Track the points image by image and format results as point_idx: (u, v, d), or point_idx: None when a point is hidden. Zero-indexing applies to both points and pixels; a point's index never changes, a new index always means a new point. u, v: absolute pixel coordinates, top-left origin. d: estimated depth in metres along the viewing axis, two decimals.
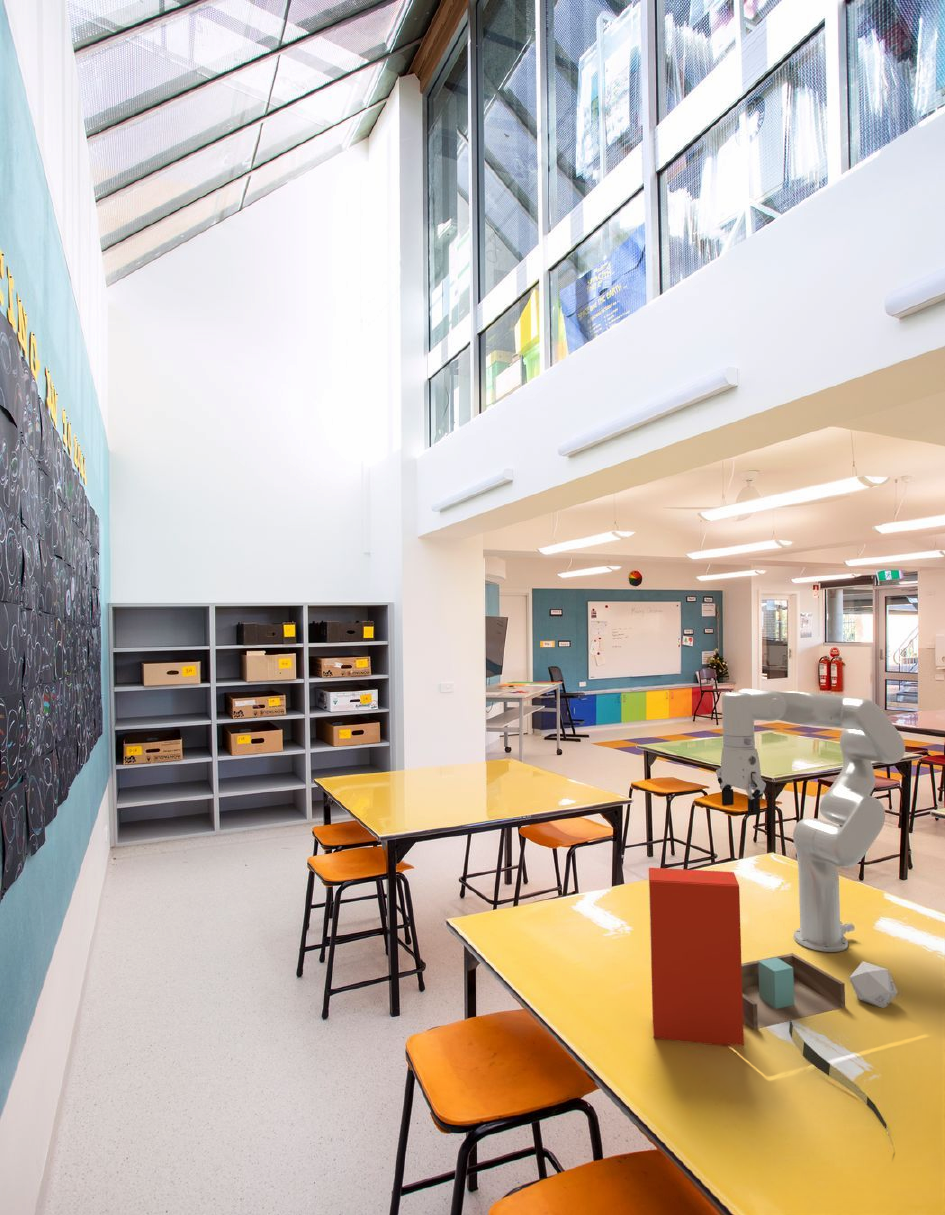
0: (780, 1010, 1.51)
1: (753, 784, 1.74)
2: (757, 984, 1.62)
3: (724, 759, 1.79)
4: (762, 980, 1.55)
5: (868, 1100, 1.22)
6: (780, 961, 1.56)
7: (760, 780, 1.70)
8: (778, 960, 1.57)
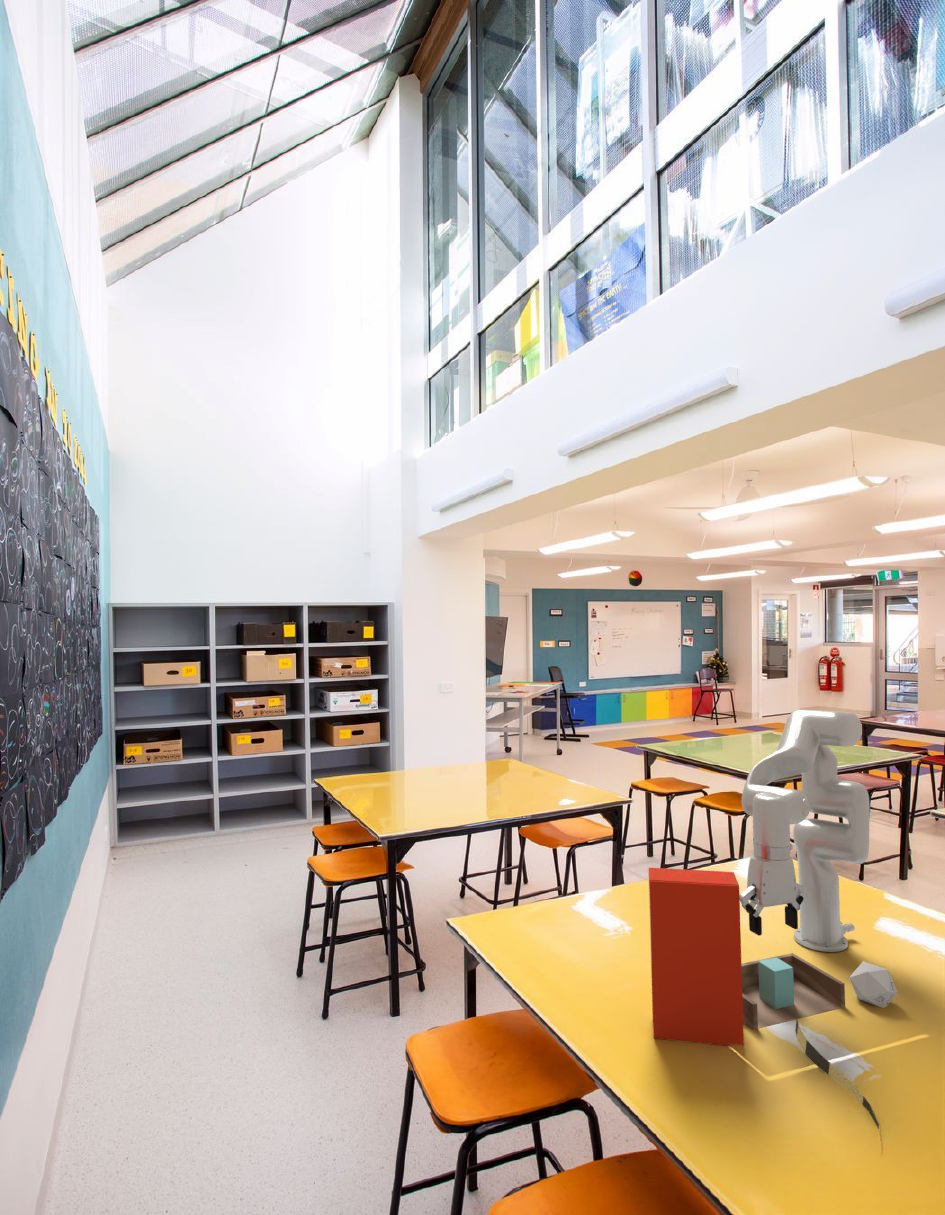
0: (780, 1010, 1.51)
1: None
2: (757, 984, 1.62)
3: (769, 878, 1.52)
4: (762, 980, 1.55)
5: (864, 1100, 1.22)
6: (780, 961, 1.56)
7: (800, 884, 1.57)
8: (778, 960, 1.57)
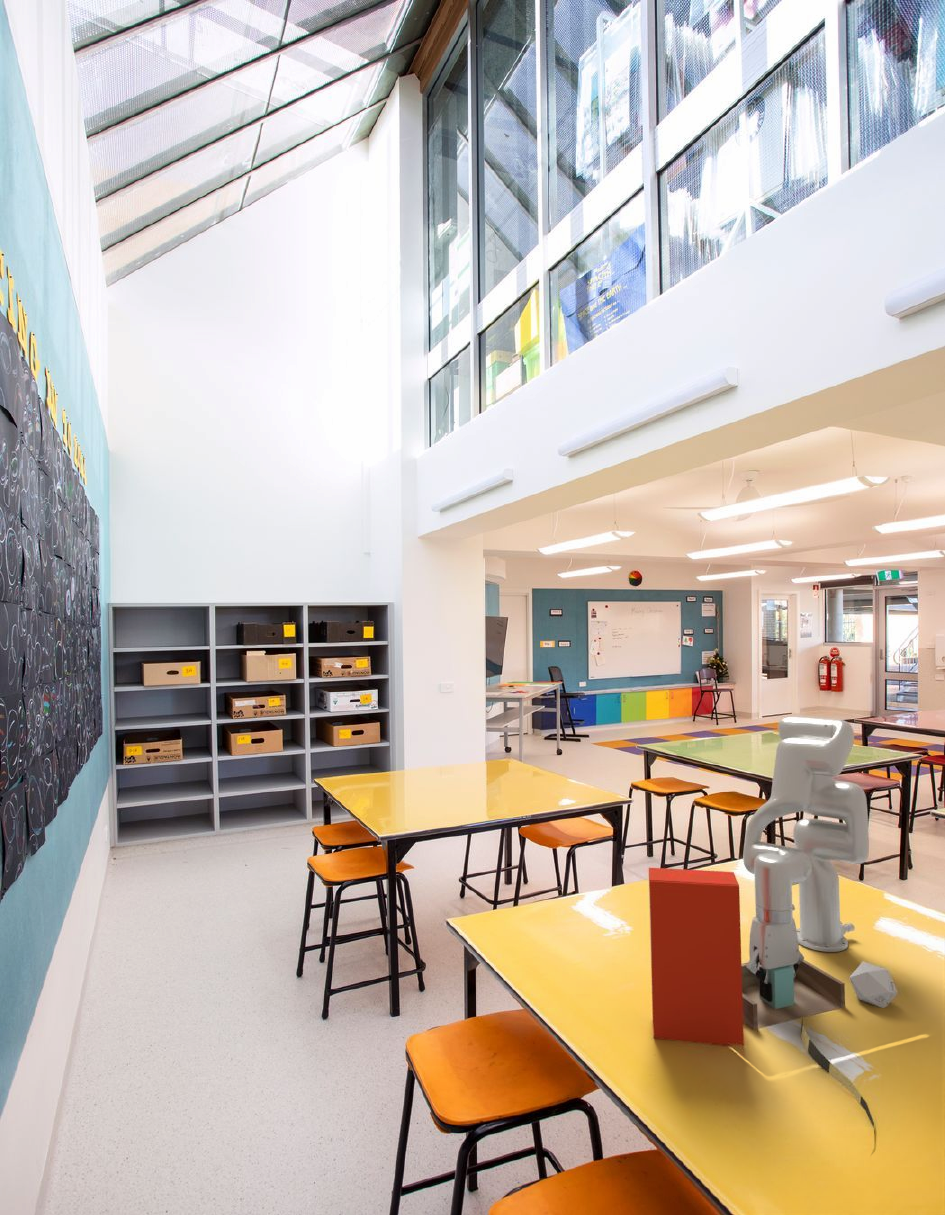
0: (780, 1010, 1.51)
1: None
2: (757, 984, 1.62)
3: (771, 942, 1.52)
4: None
5: (861, 1099, 1.22)
6: None
7: None
8: None
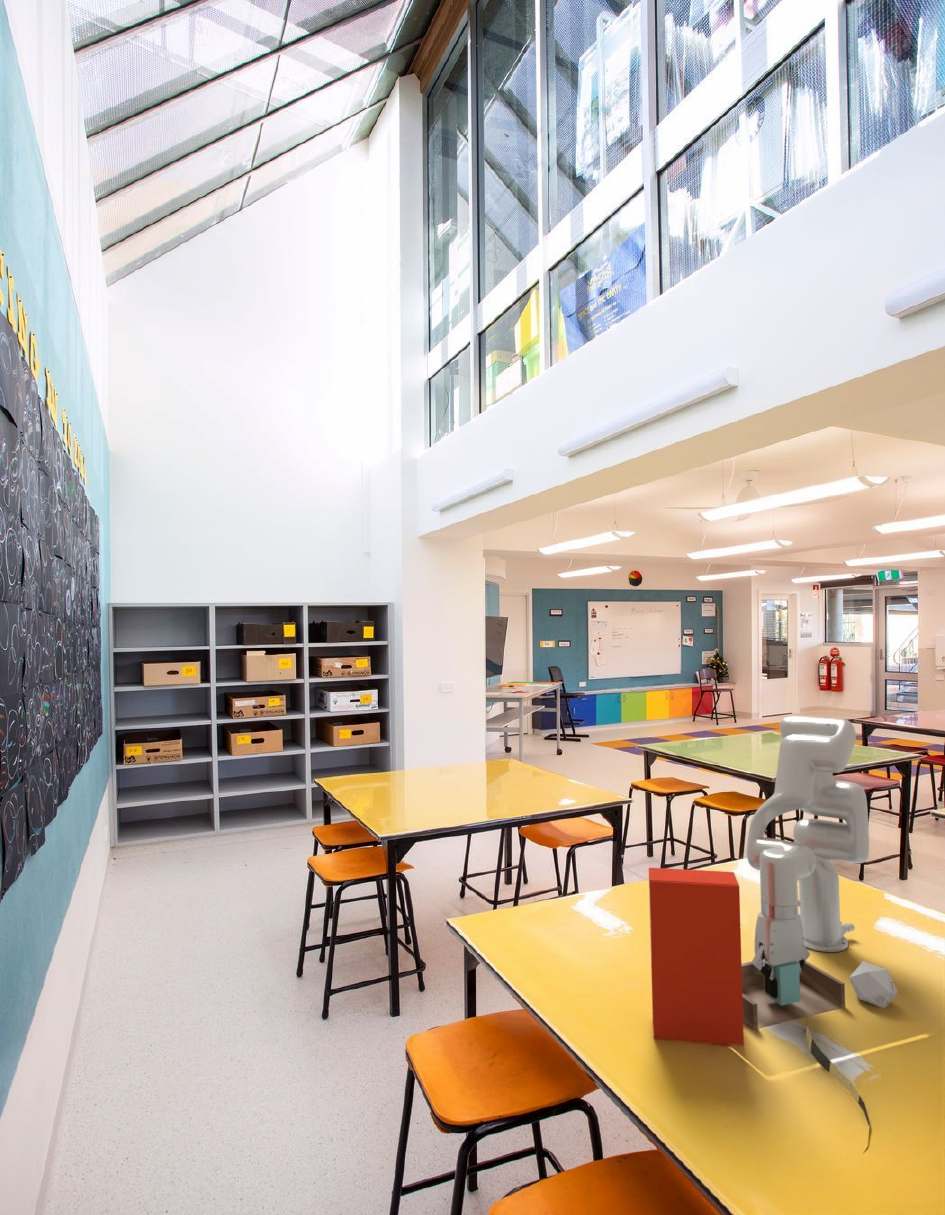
0: (780, 1010, 1.51)
1: None
2: (757, 984, 1.62)
3: (777, 937, 1.50)
4: None
5: (859, 1099, 1.22)
6: None
7: None
8: None
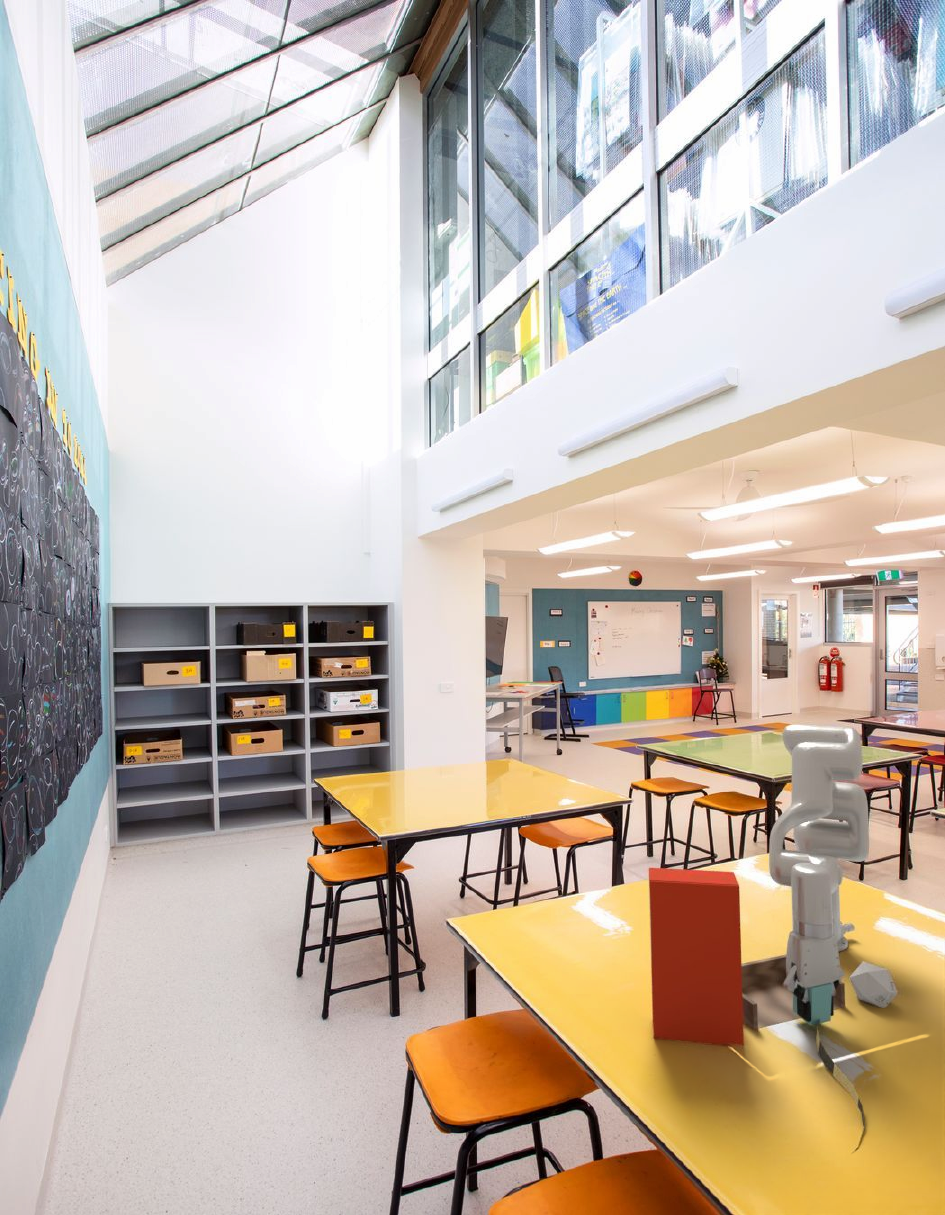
0: (780, 1010, 1.51)
1: None
2: (757, 984, 1.62)
3: (810, 958, 1.42)
4: None
5: (859, 1101, 1.21)
6: None
7: None
8: None
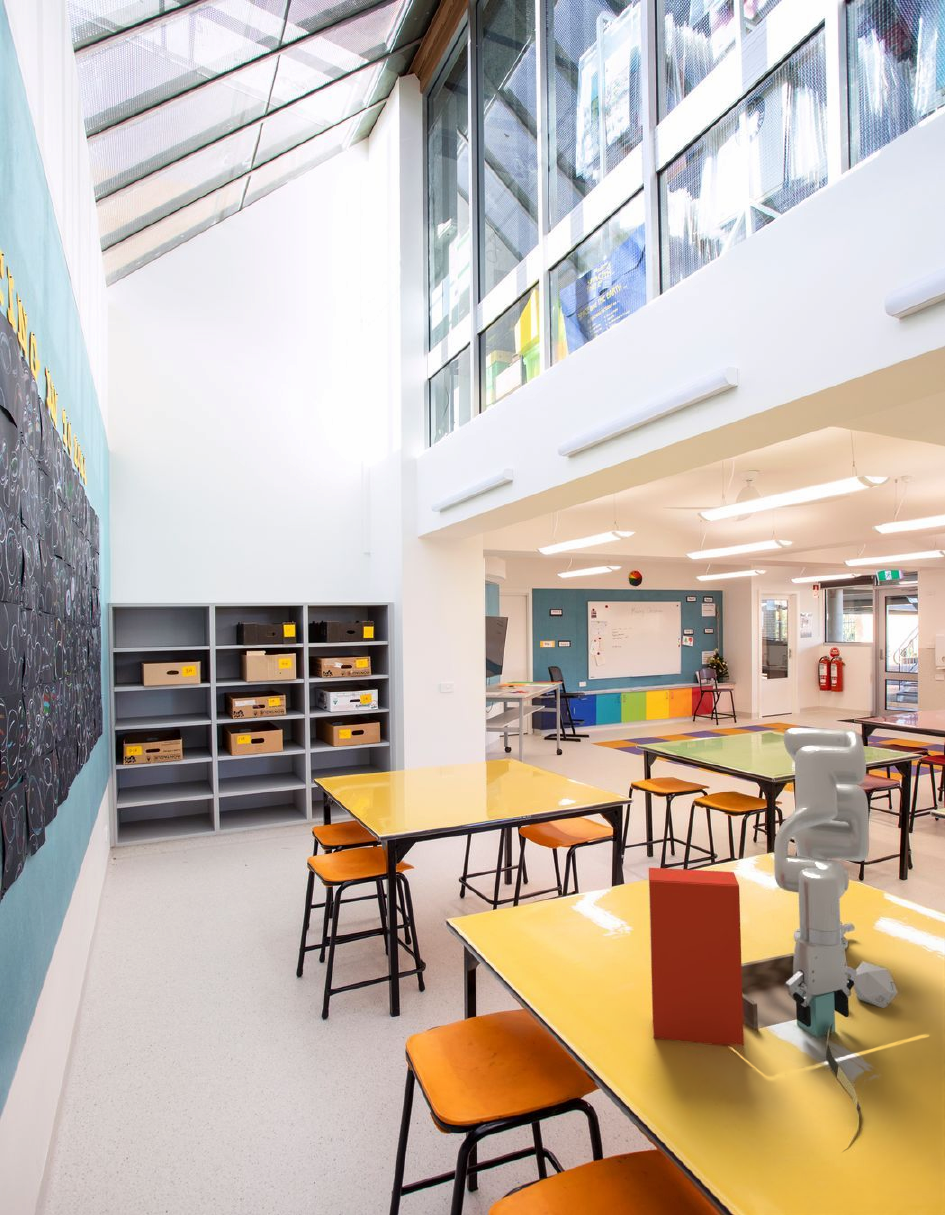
0: (780, 1010, 1.51)
1: None
2: (757, 984, 1.62)
3: (818, 965, 1.40)
4: None
5: (857, 1104, 1.21)
6: None
7: (850, 967, 1.45)
8: None
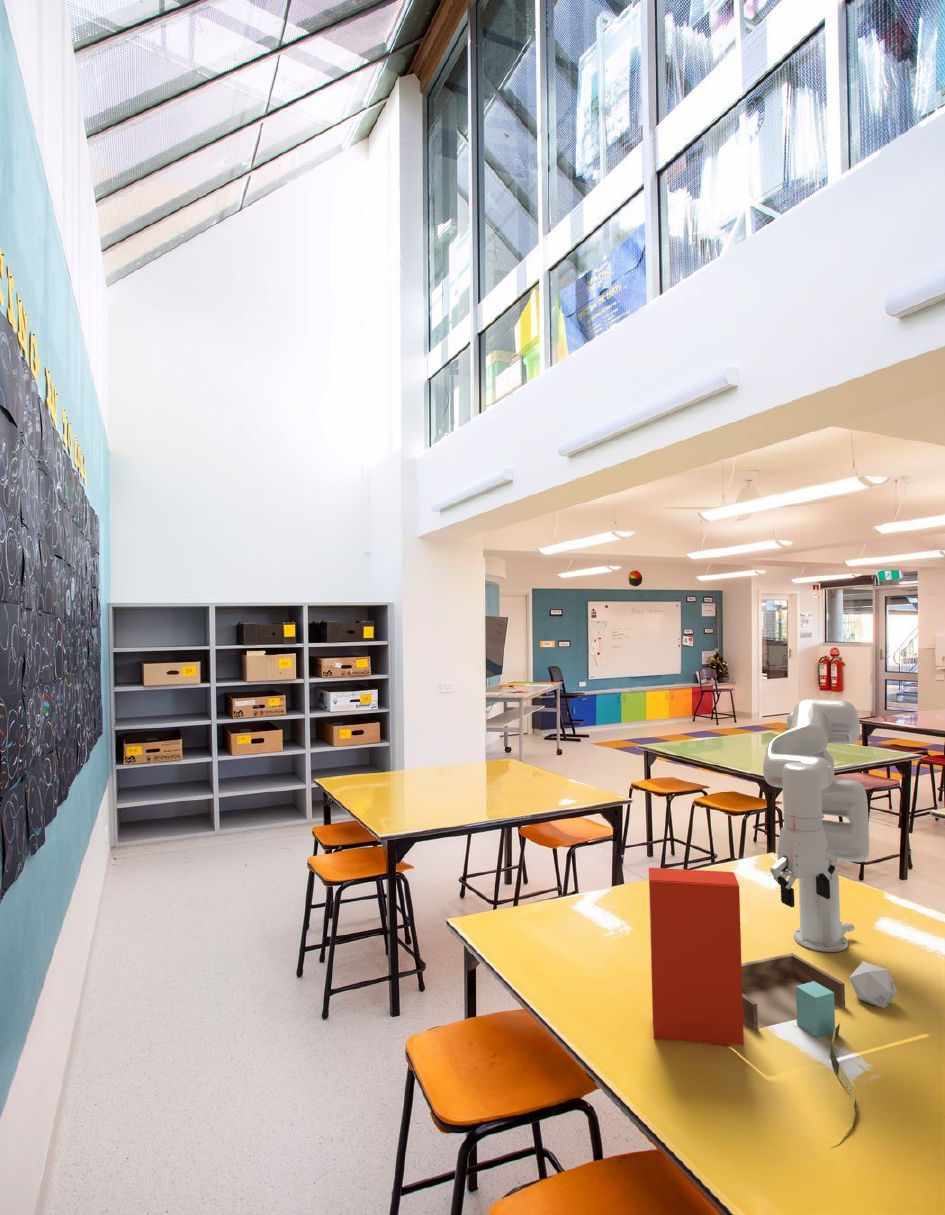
0: (780, 1010, 1.51)
1: None
2: (757, 984, 1.62)
3: (801, 850, 1.48)
4: (800, 1007, 1.45)
5: (855, 1103, 1.21)
6: (819, 985, 1.46)
7: (831, 854, 1.54)
8: (816, 984, 1.46)
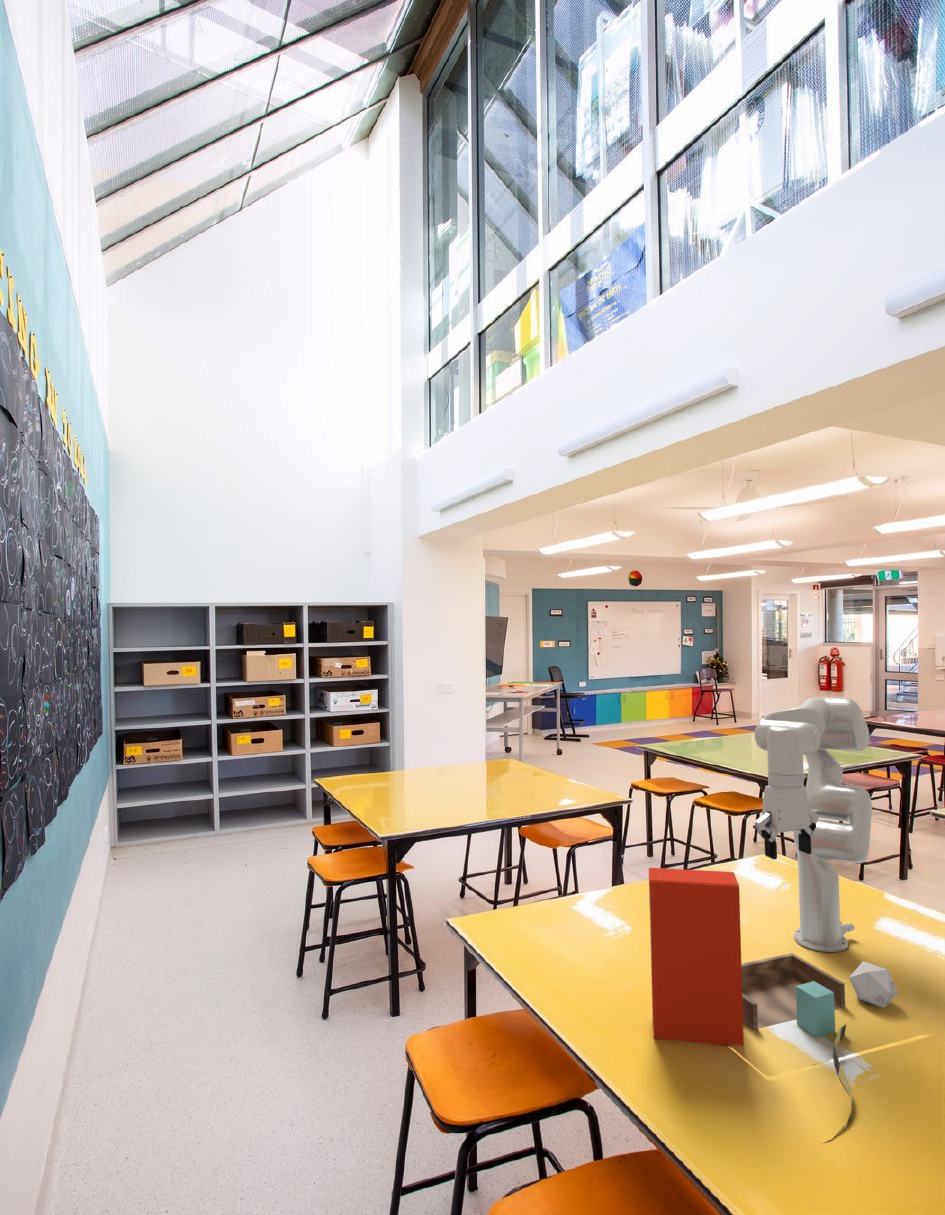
0: (780, 1010, 1.51)
1: None
2: (757, 984, 1.62)
3: (783, 805, 1.59)
4: (800, 1007, 1.45)
5: (851, 1101, 1.21)
6: (819, 985, 1.46)
7: (813, 812, 1.64)
8: (816, 984, 1.46)
